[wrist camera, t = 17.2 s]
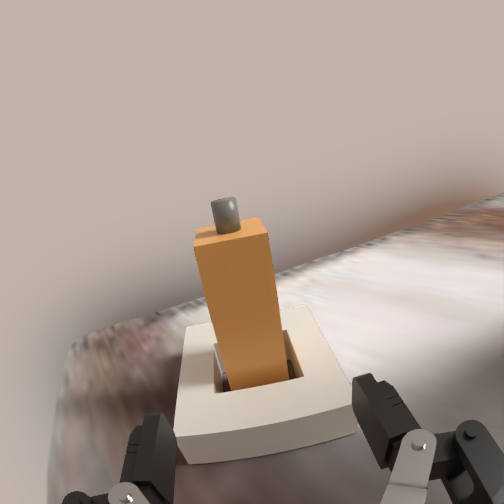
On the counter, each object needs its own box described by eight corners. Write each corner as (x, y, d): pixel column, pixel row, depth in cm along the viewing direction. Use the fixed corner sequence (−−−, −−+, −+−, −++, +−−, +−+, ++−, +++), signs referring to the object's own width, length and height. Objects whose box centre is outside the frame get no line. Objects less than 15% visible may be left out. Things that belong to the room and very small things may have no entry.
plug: (234, 378, 27) (191, 201, 22) (282, 369, 27) (253, 189, 22) (238, 412, 23) (185, 213, 18) (292, 402, 23) (262, 199, 18)
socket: (195, 354, 31) (186, 326, 30) (309, 332, 32) (306, 303, 31) (188, 464, 18) (172, 436, 17) (356, 432, 19) (359, 401, 17)
